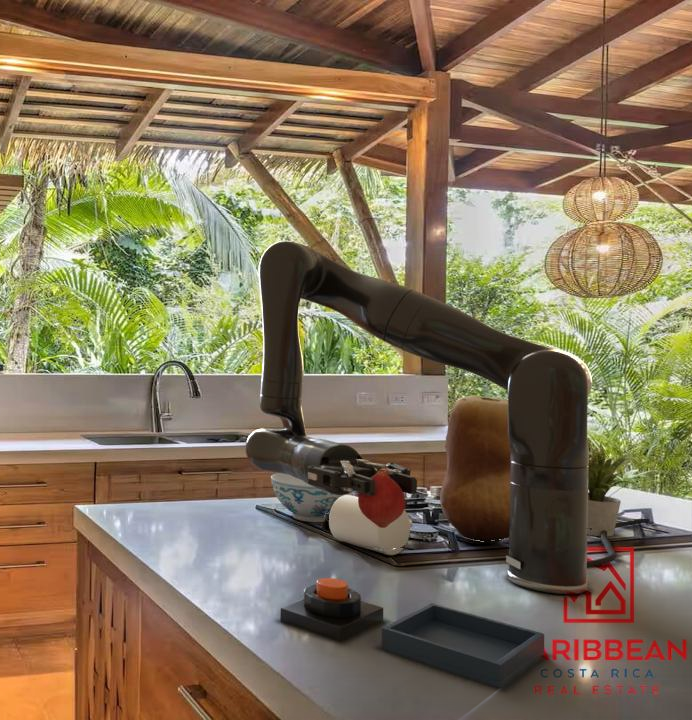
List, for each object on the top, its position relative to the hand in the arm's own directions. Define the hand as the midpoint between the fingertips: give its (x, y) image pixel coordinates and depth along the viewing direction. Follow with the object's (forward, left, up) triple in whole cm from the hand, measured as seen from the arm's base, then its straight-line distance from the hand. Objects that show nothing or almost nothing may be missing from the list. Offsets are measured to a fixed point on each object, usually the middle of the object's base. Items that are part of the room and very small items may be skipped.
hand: (393, 487), depth 96 cm
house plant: (-63, +7, -16) cm, 65 cm away
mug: (-25, -15, -16) cm, 33 cm away
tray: (+8, +12, -15) cm, 21 cm away
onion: (-1, -2, -6) cm, 7 cm away
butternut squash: (-41, -5, -16) cm, 44 cm away
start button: (+11, -2, -12) cm, 17 cm away
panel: (+11, -2, -15) cm, 19 cm away
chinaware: (-34, -33, -16) cm, 50 cm away
